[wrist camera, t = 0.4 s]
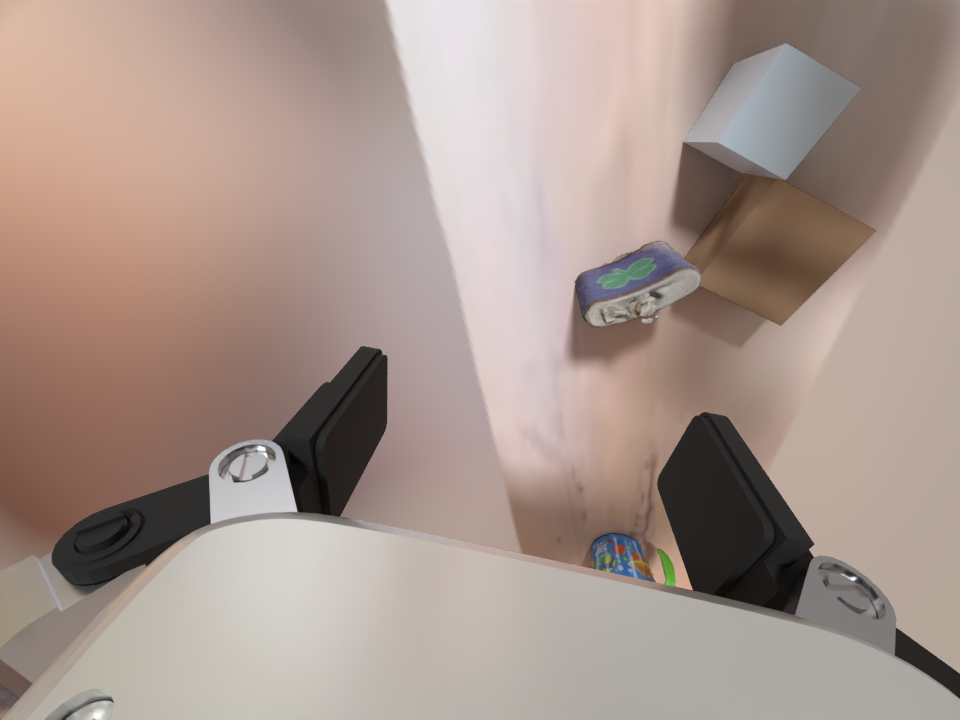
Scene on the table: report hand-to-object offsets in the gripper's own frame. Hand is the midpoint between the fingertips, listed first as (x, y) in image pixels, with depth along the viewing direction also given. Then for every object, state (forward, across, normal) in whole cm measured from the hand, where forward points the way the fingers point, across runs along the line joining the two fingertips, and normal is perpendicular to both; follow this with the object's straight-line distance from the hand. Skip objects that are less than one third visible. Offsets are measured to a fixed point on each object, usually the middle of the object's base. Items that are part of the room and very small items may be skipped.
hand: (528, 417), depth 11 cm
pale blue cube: (+29, -14, -11) cm, 34 cm away
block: (+29, -20, -2) cm, 35 cm away
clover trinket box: (+29, -9, +2) cm, 31 cm away
